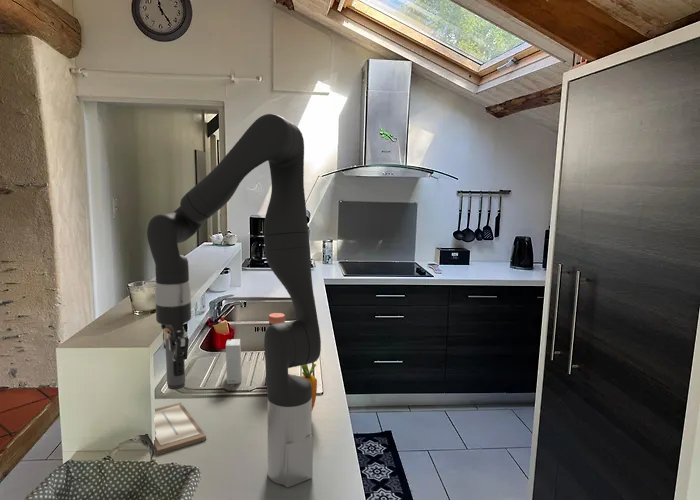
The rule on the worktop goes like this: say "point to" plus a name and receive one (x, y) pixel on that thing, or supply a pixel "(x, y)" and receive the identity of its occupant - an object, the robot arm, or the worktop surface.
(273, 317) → the bottle
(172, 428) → the writing board
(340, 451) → the worktop surface
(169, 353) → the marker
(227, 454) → the worktop surface
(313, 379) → the carrot
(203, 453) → the worktop surface
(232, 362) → the skincare box
